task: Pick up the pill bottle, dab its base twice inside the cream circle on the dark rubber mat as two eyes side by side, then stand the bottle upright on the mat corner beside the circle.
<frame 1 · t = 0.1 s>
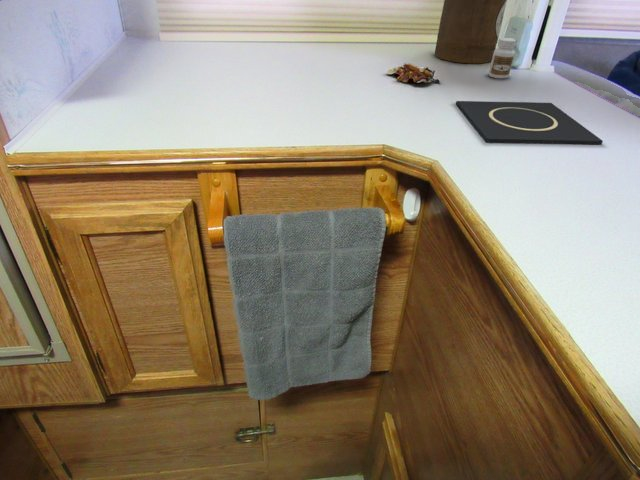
reddish brown crumpled piece: (409, 80, 93), on the countertop
wooden container: (462, 57, 111), on the countertop
pill bottle: (497, 77, 96), on the countertop
mat: (521, 122, 73), on the countertop
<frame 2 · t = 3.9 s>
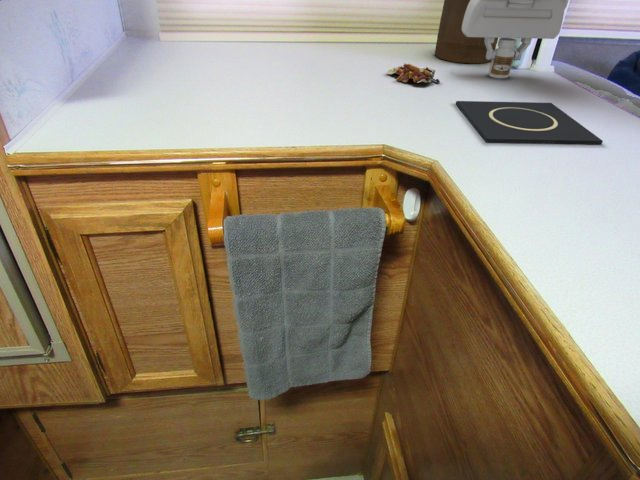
hand: (502, 59, 94), 4 cm above the countertop, tool pointing down, fingers closed on pill bottle, 4 cm apart
pill bottle: (497, 77, 96), on the countertop, touching gripper
everything else where it was.
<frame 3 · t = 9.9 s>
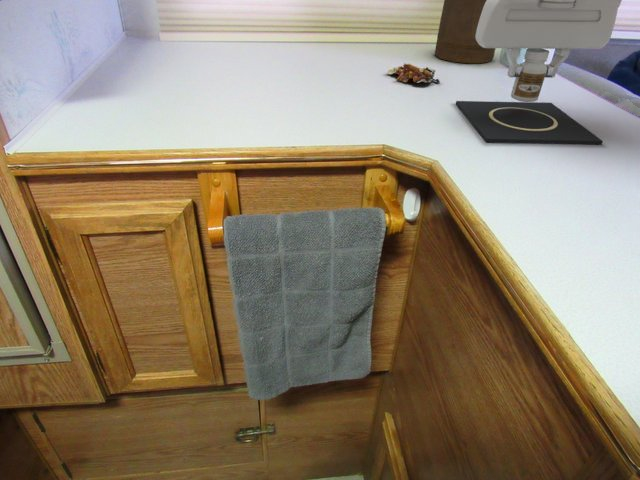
hand: (530, 76, 71), 7 cm above the countertop, tool pointing down, fingers closed on pill bottle, 4 cm apart
pill bottle: (523, 99, 73), point 3 cm above the countertop, touching gripper
everything else where it was.
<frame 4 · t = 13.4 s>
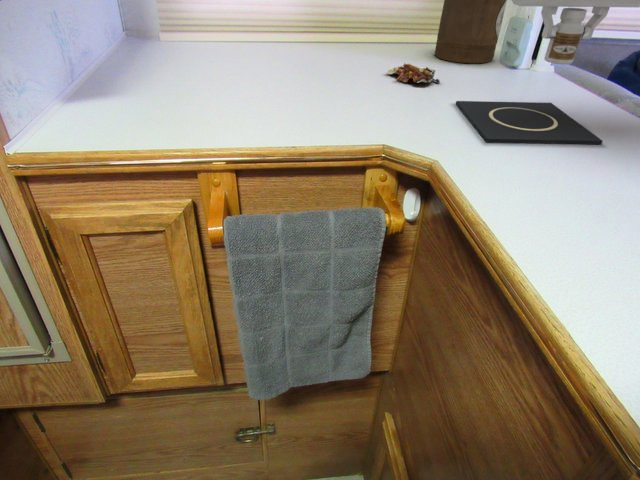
hand: (565, 38, 68), 13 cm above the countertop, tool pointing down, fingers closed on pill bottle, 4 cm apart
pill bottle: (557, 62, 71), point 9 cm above the countertop, touching gripper
everything else where it was.
when the fingers open (4 cm above the countertop, at t = 16.1 s): pill bottle stays where it is, resting on mat.
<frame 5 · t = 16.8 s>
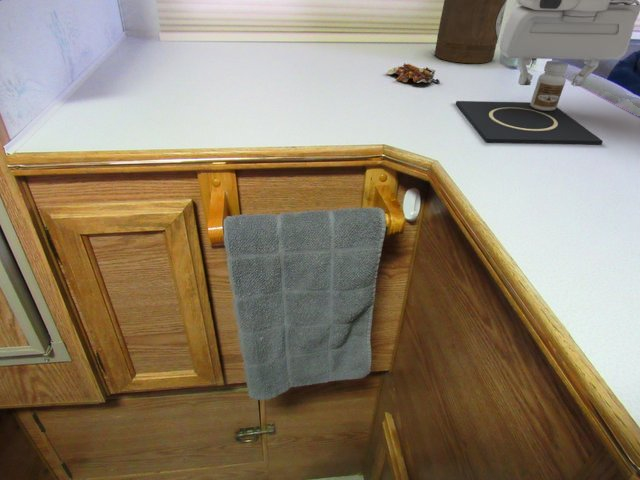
hand: (550, 85, 75), 5 cm above the countertop, tool pointing down, fingers open, 8 cm apart
pill bottle: (542, 108, 77), resting on mat
everything else where it was.
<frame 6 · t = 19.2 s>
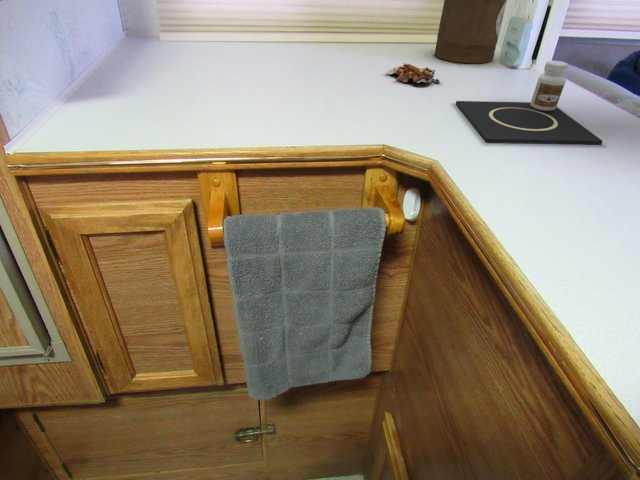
nothing on the countertop moved.
at the end: pill bottle 0.1 cm from the target spot on the mat, point 0.4 cm above the mat's base; pill bottle tilted 0°; the gripper is holding nothing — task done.
